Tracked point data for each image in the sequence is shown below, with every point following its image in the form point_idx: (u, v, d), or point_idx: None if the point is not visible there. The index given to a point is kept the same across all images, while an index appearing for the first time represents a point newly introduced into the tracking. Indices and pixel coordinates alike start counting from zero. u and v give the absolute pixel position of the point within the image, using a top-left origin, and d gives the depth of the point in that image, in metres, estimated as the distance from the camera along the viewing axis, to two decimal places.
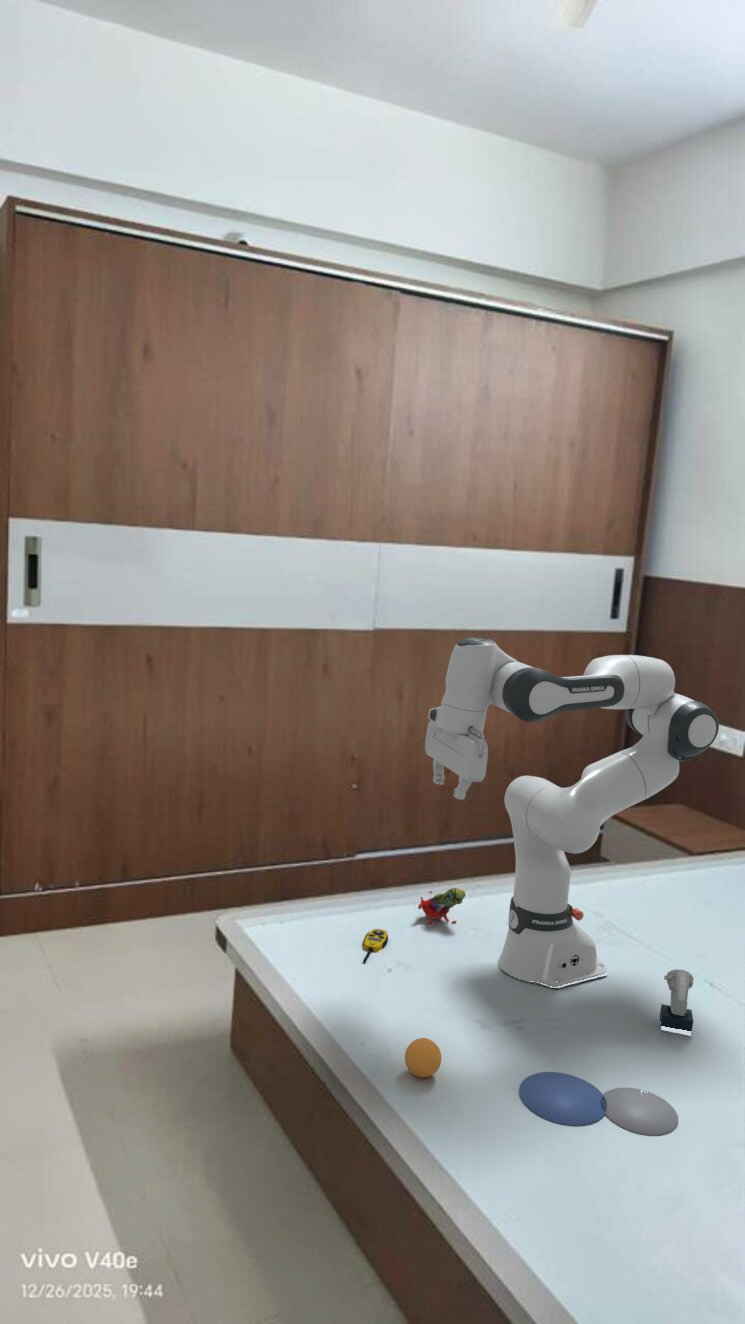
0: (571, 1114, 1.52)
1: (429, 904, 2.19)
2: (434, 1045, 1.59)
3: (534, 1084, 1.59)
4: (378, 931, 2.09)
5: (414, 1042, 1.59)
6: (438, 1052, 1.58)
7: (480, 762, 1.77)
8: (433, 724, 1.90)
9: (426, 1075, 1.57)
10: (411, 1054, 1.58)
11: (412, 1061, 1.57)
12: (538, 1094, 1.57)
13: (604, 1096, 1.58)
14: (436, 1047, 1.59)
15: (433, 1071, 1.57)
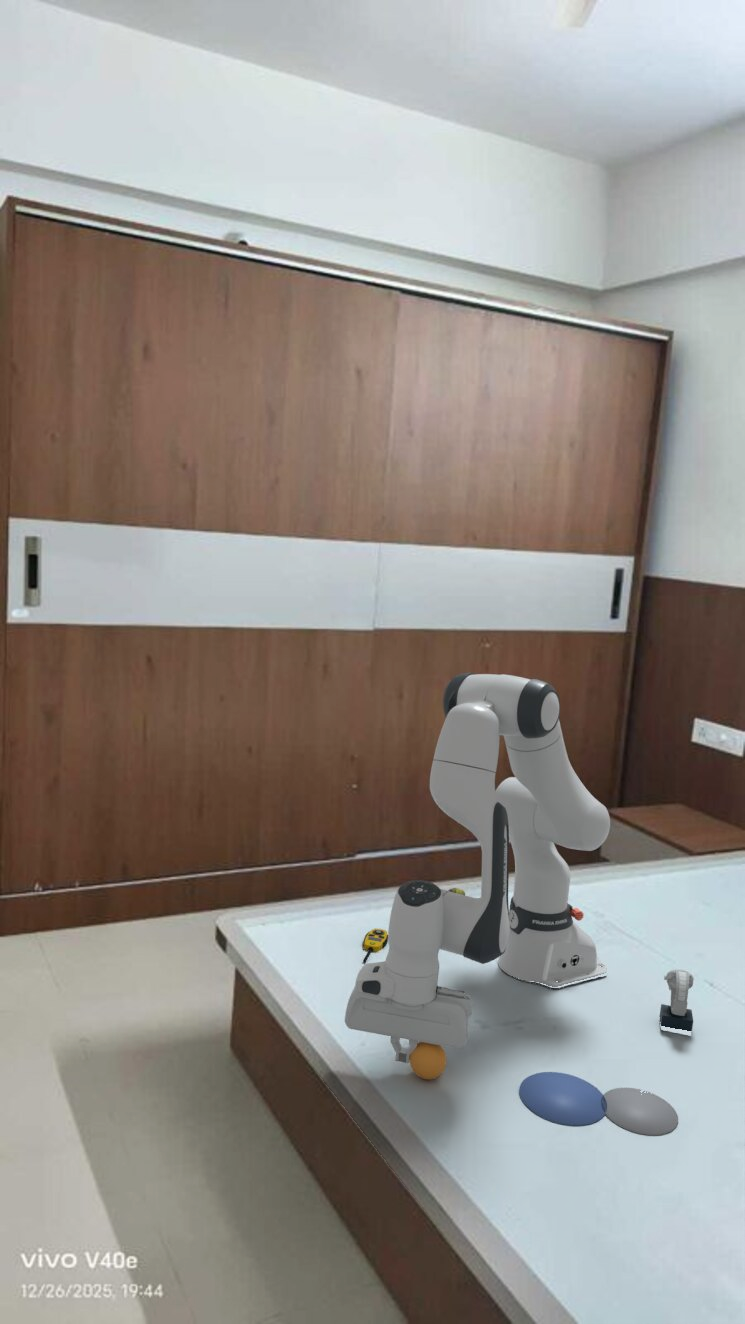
0: (571, 1114, 1.52)
1: None
2: (442, 1051, 1.59)
3: (534, 1084, 1.59)
4: (378, 931, 2.09)
5: (424, 1043, 1.59)
6: (445, 1058, 1.58)
7: (467, 1022, 1.57)
8: (369, 996, 1.57)
9: (428, 1078, 1.57)
10: (419, 1055, 1.57)
11: (419, 1062, 1.57)
12: (538, 1094, 1.57)
13: (604, 1096, 1.58)
14: (444, 1053, 1.59)
15: (436, 1076, 1.57)
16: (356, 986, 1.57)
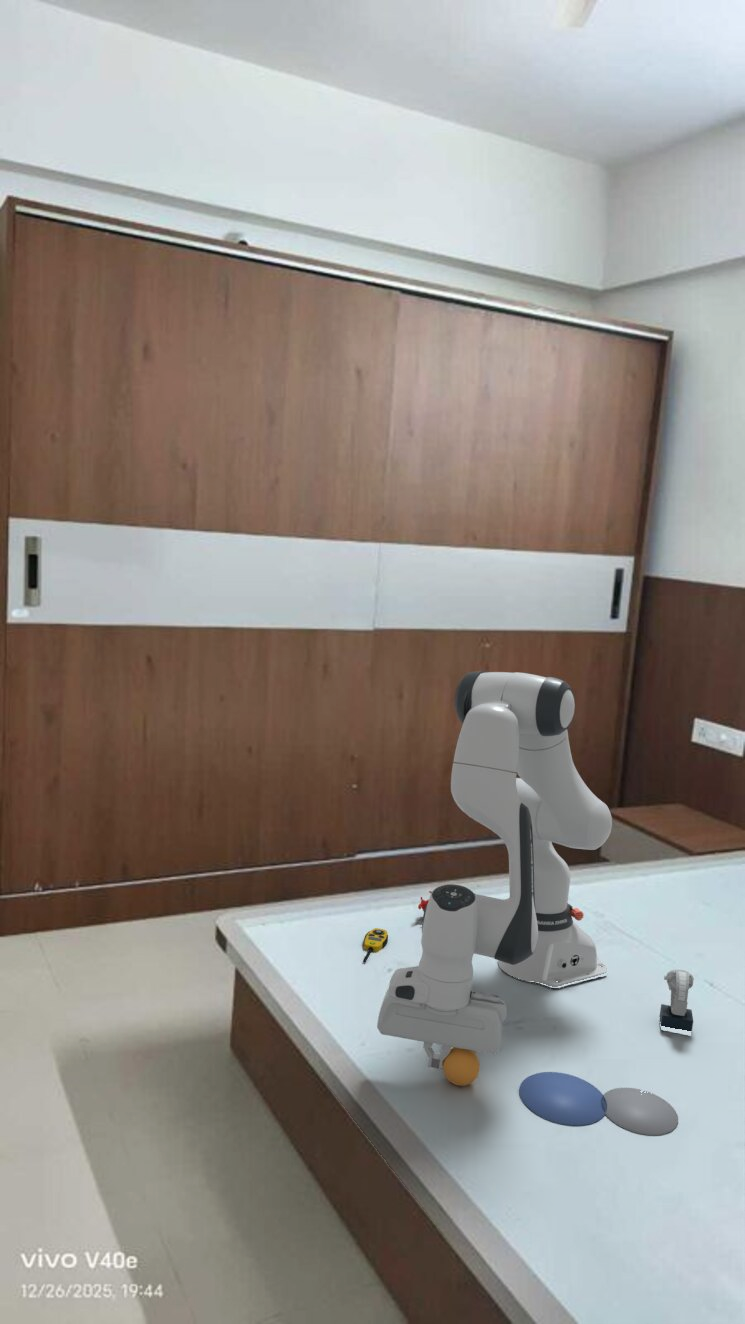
0: (571, 1114, 1.52)
1: None
2: None
3: (534, 1084, 1.59)
4: (378, 931, 2.09)
5: (464, 1050, 1.57)
6: None
7: None
8: (403, 1002, 1.56)
9: (458, 1084, 1.56)
10: (458, 1060, 1.56)
11: (456, 1067, 1.55)
12: (538, 1094, 1.57)
13: (604, 1096, 1.58)
14: (479, 1065, 1.58)
15: (466, 1084, 1.57)
16: (389, 991, 1.55)
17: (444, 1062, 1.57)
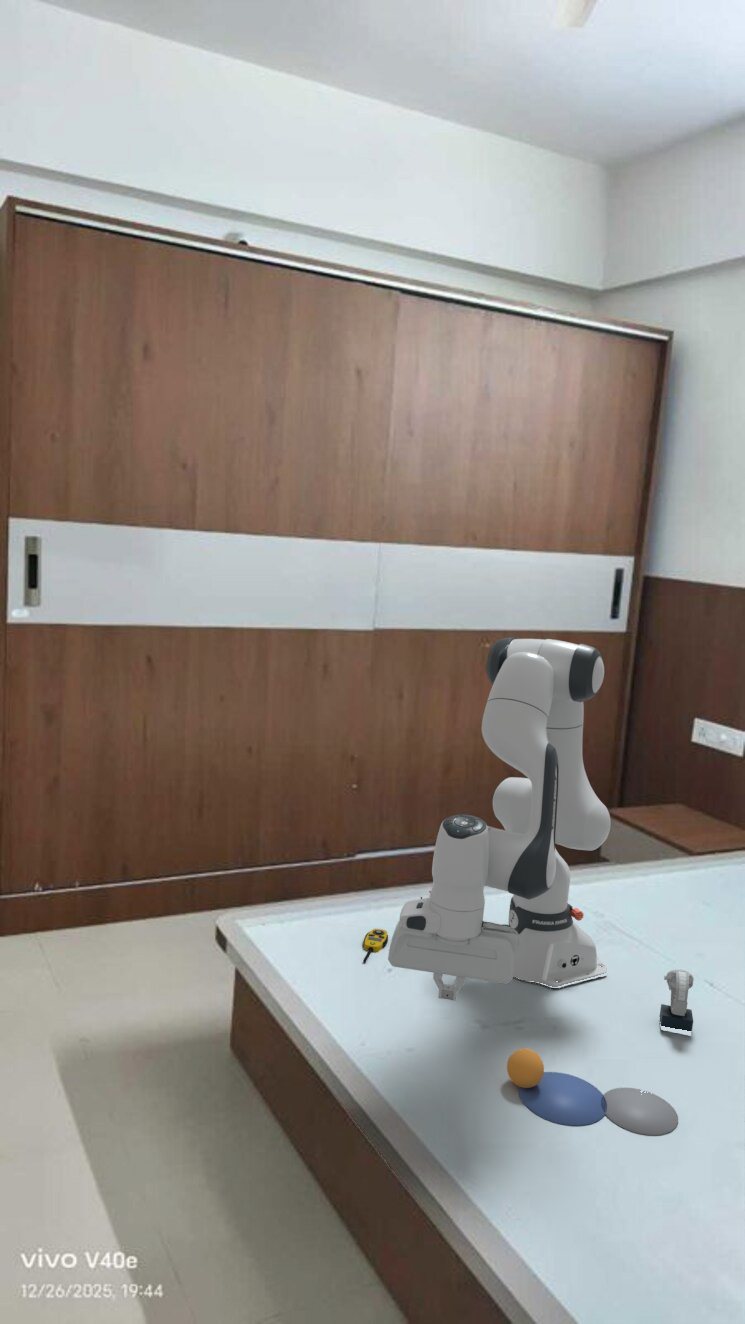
0: (571, 1114, 1.52)
1: None
2: (508, 1069, 1.58)
3: None
4: (378, 931, 2.09)
5: None
6: (511, 1064, 1.58)
7: (513, 957, 1.55)
8: (414, 932, 1.54)
9: (536, 1066, 1.57)
10: None
11: (533, 1085, 1.57)
12: (538, 1094, 1.57)
13: (604, 1096, 1.58)
14: (508, 1067, 1.58)
15: (529, 1063, 1.56)
16: (400, 922, 1.54)
17: None
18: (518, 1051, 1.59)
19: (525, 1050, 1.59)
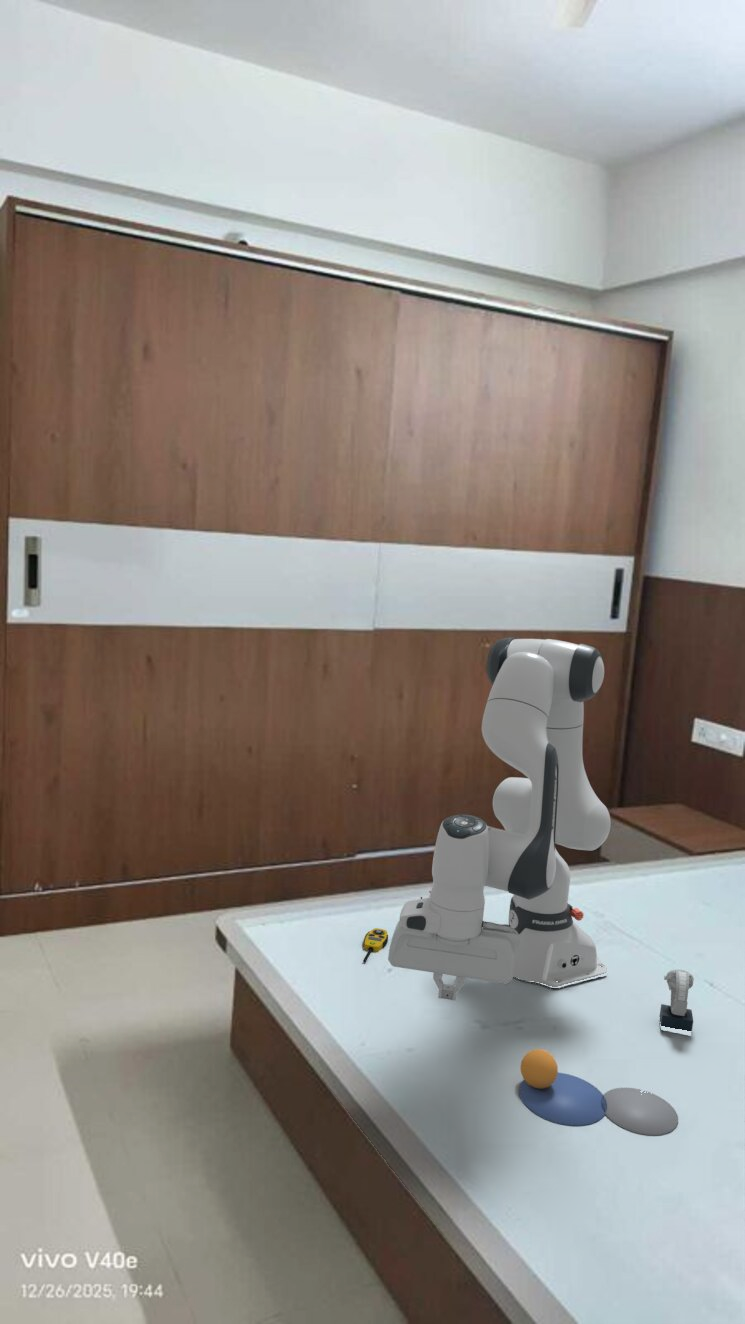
0: (571, 1114, 1.52)
1: None
2: (527, 1059, 1.58)
3: None
4: (378, 931, 2.09)
5: None
6: (534, 1057, 1.58)
7: (513, 957, 1.55)
8: (414, 932, 1.54)
9: (554, 1074, 1.57)
10: (532, 1085, 1.57)
11: (539, 1087, 1.57)
12: (538, 1094, 1.57)
13: (604, 1096, 1.58)
14: (530, 1057, 1.58)
15: (551, 1067, 1.57)
16: (400, 922, 1.54)
17: None
18: (545, 1051, 1.59)
19: (551, 1055, 1.59)
